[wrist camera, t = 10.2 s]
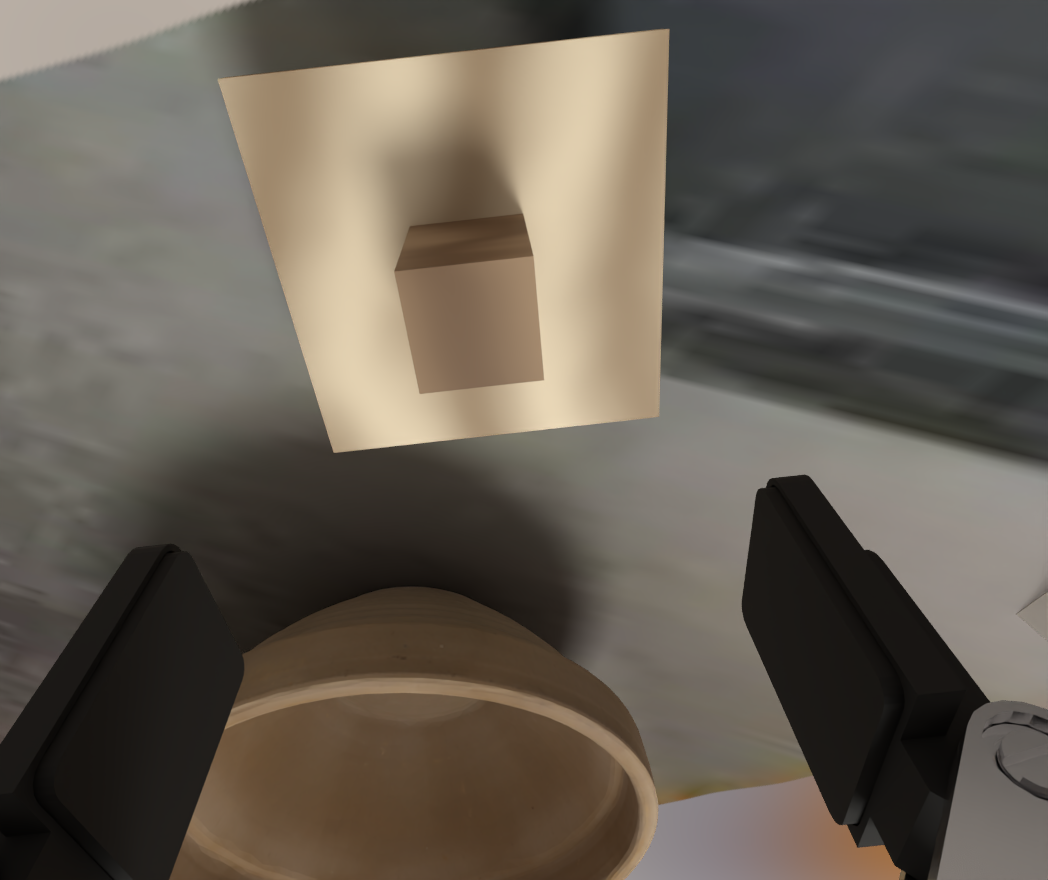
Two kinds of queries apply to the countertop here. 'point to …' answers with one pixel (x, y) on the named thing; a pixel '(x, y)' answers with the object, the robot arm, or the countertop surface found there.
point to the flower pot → (420, 755)
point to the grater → (1037, 615)
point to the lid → (468, 233)
